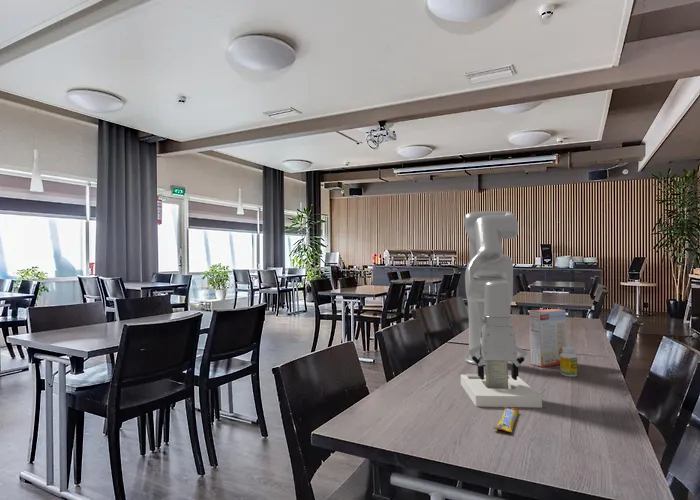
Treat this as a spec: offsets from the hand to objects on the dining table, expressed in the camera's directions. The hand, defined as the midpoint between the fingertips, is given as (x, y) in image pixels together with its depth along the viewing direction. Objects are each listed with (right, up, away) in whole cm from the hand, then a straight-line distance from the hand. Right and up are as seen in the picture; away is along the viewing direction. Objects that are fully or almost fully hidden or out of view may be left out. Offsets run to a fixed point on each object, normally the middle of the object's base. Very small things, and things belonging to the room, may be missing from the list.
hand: (497, 378), depth 134 cm
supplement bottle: (+32, -5, +22) cm, 40 cm away
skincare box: (0, -5, 0) cm, 5 cm away
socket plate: (0, -5, 0) cm, 5 cm away
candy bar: (-5, -5, -22) cm, 23 cm away
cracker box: (+32, -5, +38) cm, 50 cm away
